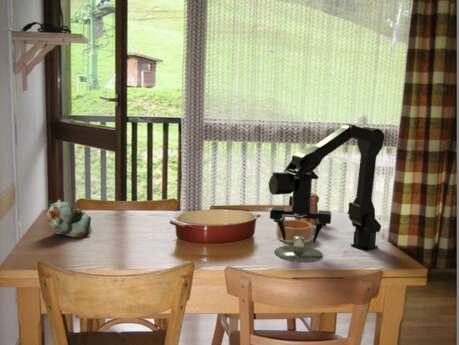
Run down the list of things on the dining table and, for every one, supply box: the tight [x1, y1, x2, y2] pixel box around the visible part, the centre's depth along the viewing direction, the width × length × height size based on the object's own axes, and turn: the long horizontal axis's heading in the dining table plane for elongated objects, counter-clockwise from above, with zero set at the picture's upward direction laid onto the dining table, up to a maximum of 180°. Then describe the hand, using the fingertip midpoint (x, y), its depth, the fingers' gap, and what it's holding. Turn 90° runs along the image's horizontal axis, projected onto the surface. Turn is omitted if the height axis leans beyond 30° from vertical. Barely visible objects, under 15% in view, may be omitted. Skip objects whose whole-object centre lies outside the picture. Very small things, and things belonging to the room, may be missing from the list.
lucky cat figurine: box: [46, 199, 93, 239], centre depth 178 cm, size 15×12×14 cm
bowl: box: [275, 219, 314, 244], centre depth 183 cm, size 12×12×5 cm
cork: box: [313, 193, 320, 225], centre depth 205 cm, size 6×6×11 cm
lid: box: [274, 236, 323, 263], centre depth 166 cm, size 15×15×6 cm
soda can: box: [294, 192, 315, 227], centre depth 196 cm, size 7×7×13 cm
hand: (299, 241), depth 166 cm, fingers open, 9 cm apart
